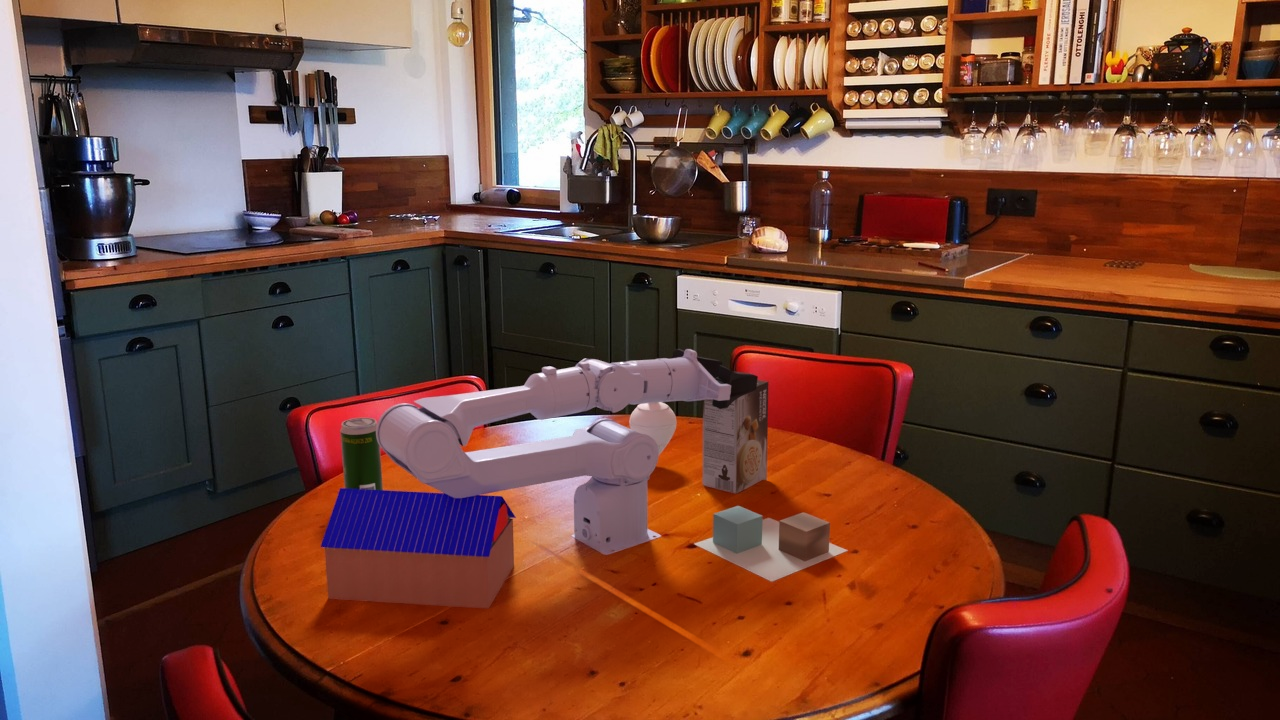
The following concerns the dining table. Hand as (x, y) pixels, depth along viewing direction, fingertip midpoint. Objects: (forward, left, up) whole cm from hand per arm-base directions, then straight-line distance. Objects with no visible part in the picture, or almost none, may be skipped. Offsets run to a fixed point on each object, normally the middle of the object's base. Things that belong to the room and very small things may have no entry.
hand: (737, 375), depth 136 cm
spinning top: (+2, +21, -20) cm, 29 cm away
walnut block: (-5, -18, -19) cm, 26 cm away
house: (-46, +6, -20) cm, 51 cm away
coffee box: (+6, +6, -20) cm, 22 cm away
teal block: (-10, -11, -19) cm, 24 cm away
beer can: (-41, +36, -20) cm, 58 cm away
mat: (-7, -14, -20) cm, 25 cm away
